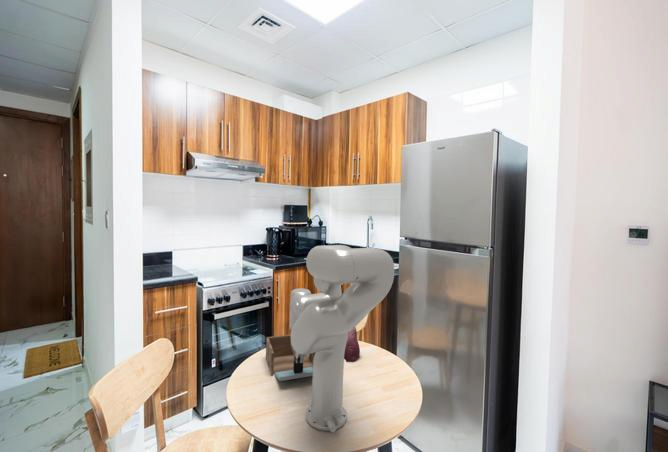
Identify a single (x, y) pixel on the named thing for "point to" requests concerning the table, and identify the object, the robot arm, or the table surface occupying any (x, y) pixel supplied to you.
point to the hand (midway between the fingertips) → (298, 371)
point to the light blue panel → (293, 374)
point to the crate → (283, 354)
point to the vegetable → (352, 347)
